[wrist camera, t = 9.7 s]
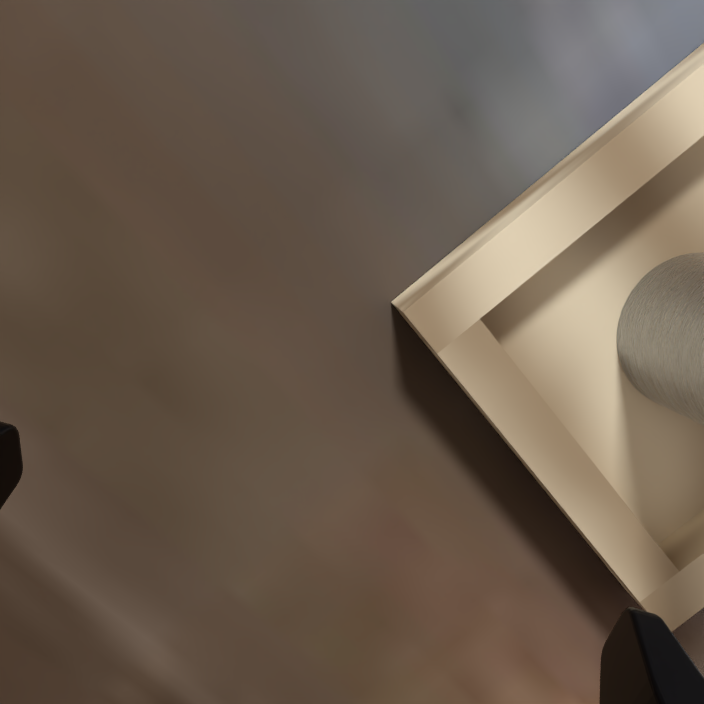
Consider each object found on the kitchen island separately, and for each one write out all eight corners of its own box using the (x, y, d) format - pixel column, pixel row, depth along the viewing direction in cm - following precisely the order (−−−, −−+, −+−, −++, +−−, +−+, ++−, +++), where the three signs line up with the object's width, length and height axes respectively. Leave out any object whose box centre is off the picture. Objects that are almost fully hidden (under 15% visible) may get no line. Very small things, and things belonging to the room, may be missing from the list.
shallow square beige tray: (627, 591, 23) (666, 635, 20) (390, 302, 20) (403, 312, 18) (939, 350, 22) (1019, 365, 19) (731, 19, 20) (793, -11, 17)
